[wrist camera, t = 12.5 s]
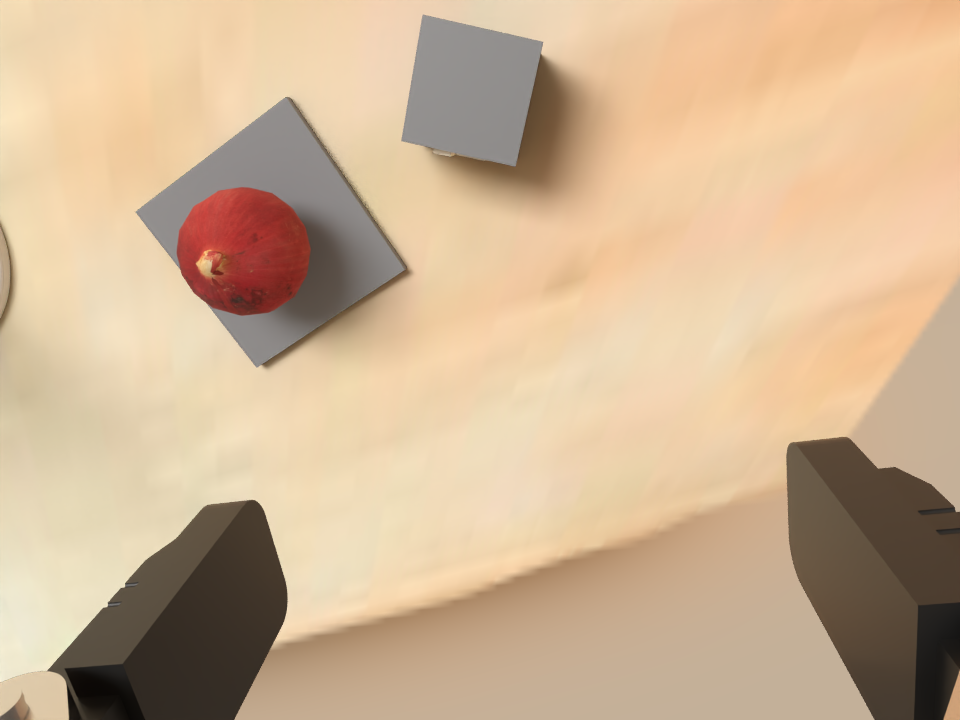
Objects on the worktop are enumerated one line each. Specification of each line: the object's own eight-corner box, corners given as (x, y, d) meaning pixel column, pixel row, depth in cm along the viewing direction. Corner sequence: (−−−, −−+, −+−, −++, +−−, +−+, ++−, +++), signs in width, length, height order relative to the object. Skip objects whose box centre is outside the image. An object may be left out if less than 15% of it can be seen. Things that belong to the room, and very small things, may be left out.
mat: (289, 97, 34) (285, 97, 34) (406, 267, 37) (405, 269, 36) (141, 210, 37) (135, 211, 36) (260, 364, 39) (256, 367, 38)
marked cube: (437, 30, 33) (422, 14, 28) (540, 54, 33) (543, 41, 29) (417, 144, 35) (400, 147, 30) (515, 166, 35) (514, 172, 30)
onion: (339, 287, 37) (290, 329, 29) (234, 302, 37) (160, 347, 30) (314, 173, 35) (256, 187, 27) (204, 191, 36) (117, 208, 28)
